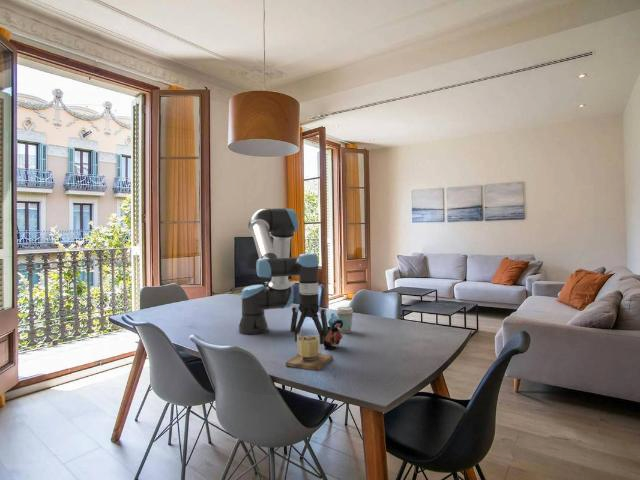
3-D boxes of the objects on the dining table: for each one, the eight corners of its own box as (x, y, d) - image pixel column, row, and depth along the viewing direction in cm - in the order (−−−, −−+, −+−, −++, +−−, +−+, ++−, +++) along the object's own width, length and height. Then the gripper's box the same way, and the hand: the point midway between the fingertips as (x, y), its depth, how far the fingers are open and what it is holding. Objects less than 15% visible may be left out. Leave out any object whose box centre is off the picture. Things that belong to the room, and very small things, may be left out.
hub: (296, 355, 144) (295, 340, 144) (304, 349, 151) (304, 334, 151) (315, 358, 141) (315, 342, 141) (322, 351, 148) (322, 336, 148)
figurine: (332, 352, 158) (331, 317, 157) (319, 349, 162) (319, 314, 162) (346, 346, 165) (346, 313, 165) (334, 343, 170) (334, 311, 170)
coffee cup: (352, 334, 185) (352, 310, 185) (335, 333, 187) (335, 309, 186) (354, 329, 193) (354, 306, 193) (338, 329, 195) (337, 306, 195)
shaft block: (285, 366, 142) (285, 341, 142) (300, 354, 155) (300, 332, 155) (320, 370, 137) (319, 345, 137) (332, 358, 150) (332, 335, 150)
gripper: (280, 293, 146) (281, 351, 146) (330, 296, 138) (331, 356, 139) (288, 290, 153) (289, 345, 153) (337, 293, 145) (337, 350, 146)
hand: (309, 350), depth 146 cm, fingers closed on hub, 8 cm apart
